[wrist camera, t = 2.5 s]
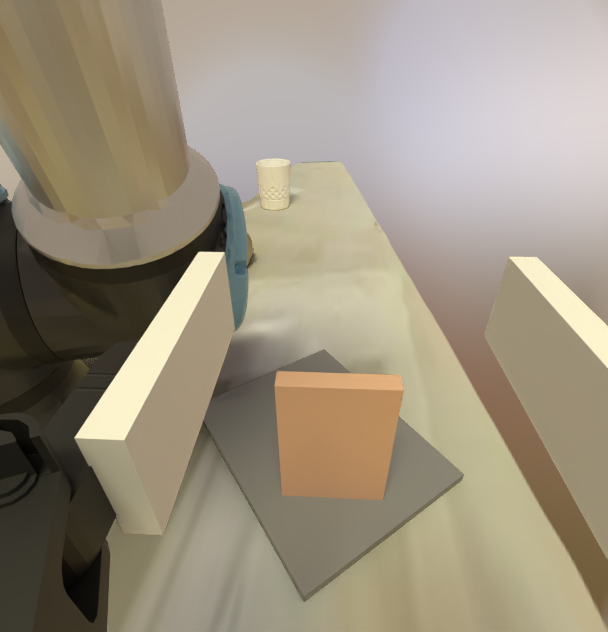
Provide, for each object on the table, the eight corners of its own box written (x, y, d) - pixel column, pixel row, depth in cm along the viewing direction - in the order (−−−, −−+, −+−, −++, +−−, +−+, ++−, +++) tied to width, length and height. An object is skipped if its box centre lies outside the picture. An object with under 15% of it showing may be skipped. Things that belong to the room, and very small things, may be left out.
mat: (196, 410, 40) (195, 405, 39) (323, 354, 47) (324, 349, 46) (304, 601, 26) (304, 597, 25) (461, 480, 33) (463, 474, 32)
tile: (382, 500, 31) (403, 390, 24) (282, 495, 31) (274, 386, 24) (380, 481, 32) (399, 372, 25) (284, 477, 32) (277, 369, 26)
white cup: (275, 213, 89) (273, 168, 83) (252, 206, 93) (248, 163, 87) (298, 205, 94) (297, 161, 88) (275, 198, 98) (272, 157, 92)
